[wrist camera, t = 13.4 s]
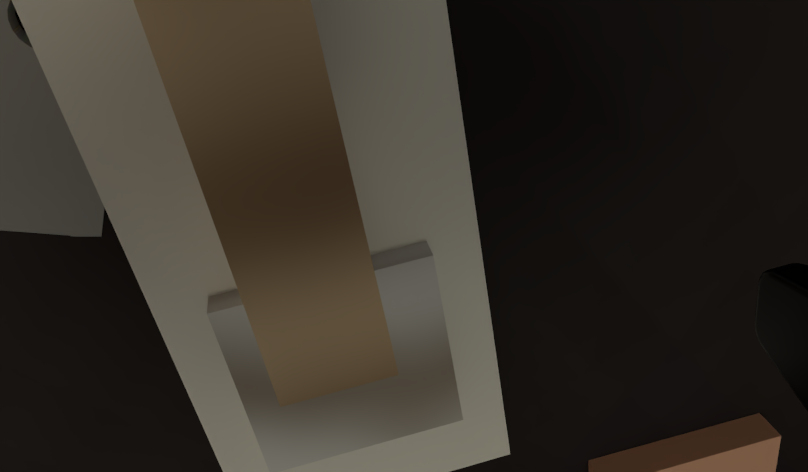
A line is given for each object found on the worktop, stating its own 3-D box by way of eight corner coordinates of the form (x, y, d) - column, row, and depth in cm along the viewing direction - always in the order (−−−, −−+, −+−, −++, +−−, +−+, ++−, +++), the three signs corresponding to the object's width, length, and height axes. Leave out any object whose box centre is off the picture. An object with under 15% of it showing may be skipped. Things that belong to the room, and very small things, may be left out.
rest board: (380, -378, 13) (390, -396, 12) (500, 432, 24) (510, 454, 23) (-100, -293, 12) (-126, -305, 12) (248, 504, 23) (249, 529, 22)
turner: (45, -123, 13) (-57, -121, 9) (347, -184, 14) (392, -209, 9) (269, 454, 21) (274, 605, 17) (456, 402, 22) (508, 535, 17)
